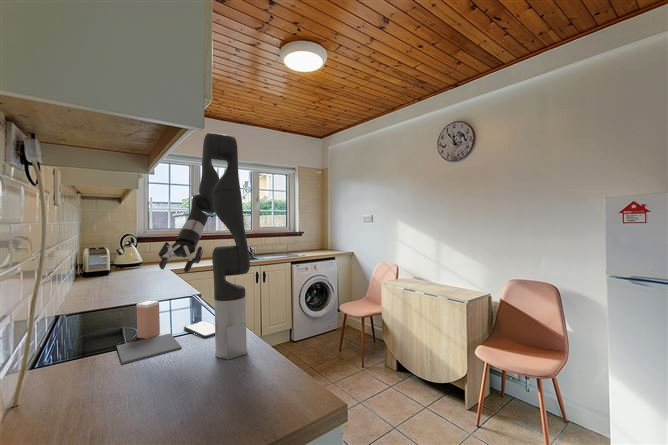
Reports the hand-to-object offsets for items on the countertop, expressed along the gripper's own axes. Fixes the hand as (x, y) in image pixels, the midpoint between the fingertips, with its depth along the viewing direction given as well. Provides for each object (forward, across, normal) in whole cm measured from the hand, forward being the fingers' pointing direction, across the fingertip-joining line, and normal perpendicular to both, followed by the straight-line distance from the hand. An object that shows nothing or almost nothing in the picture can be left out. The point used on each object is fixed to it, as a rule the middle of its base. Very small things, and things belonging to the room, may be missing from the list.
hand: (173, 269), depth 110 cm
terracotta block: (+18, -7, +18) cm, 26 cm away
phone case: (+14, +12, +19) cm, 27 cm away
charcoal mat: (+24, 0, +9) cm, 26 cm away
